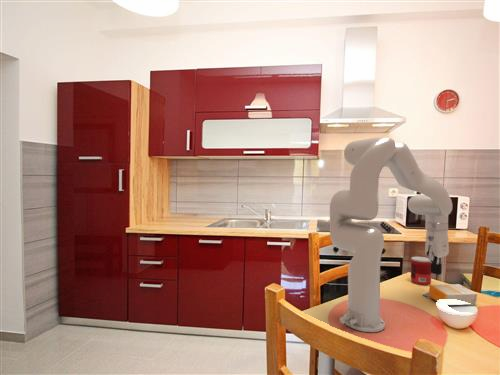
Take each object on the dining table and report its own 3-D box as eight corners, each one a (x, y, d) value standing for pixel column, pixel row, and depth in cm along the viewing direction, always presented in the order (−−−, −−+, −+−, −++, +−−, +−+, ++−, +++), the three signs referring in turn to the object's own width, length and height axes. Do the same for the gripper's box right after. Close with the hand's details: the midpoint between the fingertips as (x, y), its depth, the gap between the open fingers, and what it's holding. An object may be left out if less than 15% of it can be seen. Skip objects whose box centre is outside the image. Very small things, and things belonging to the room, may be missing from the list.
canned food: (434, 284, 133) (435, 259, 132) (422, 286, 130) (422, 261, 129) (419, 279, 140) (419, 255, 139) (407, 281, 137) (407, 257, 137)
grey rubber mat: (444, 302, 112) (444, 301, 112) (422, 295, 119) (422, 294, 119) (457, 295, 119) (457, 294, 119) (436, 289, 126) (436, 288, 126)
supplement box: (443, 307, 108) (476, 306, 110) (445, 294, 107) (478, 293, 109) (427, 296, 116) (458, 295, 118) (429, 284, 116) (459, 283, 117)
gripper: (438, 229, 109) (438, 279, 109) (455, 226, 118) (454, 272, 118) (417, 227, 115) (416, 274, 115) (434, 224, 124) (434, 268, 124)
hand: (436, 273), depth 117 cm, fingers closed
